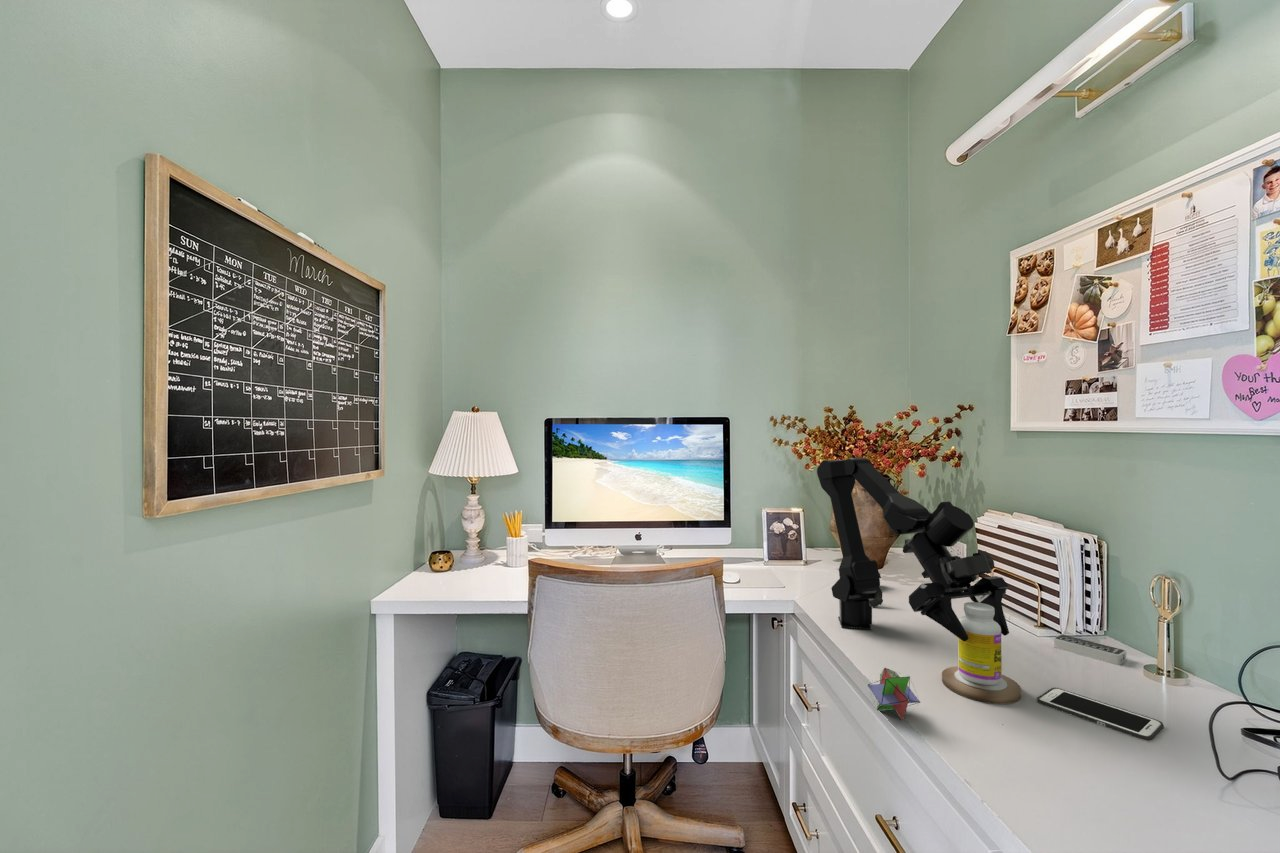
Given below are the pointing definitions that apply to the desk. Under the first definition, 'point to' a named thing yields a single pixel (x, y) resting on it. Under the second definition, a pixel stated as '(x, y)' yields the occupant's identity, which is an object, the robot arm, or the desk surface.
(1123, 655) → the multiport hub
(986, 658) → the supplement bottle
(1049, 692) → the cell phone
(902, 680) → the geometric puzzle
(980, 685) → the brown rimmed plate
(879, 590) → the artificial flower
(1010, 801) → the desk surface
